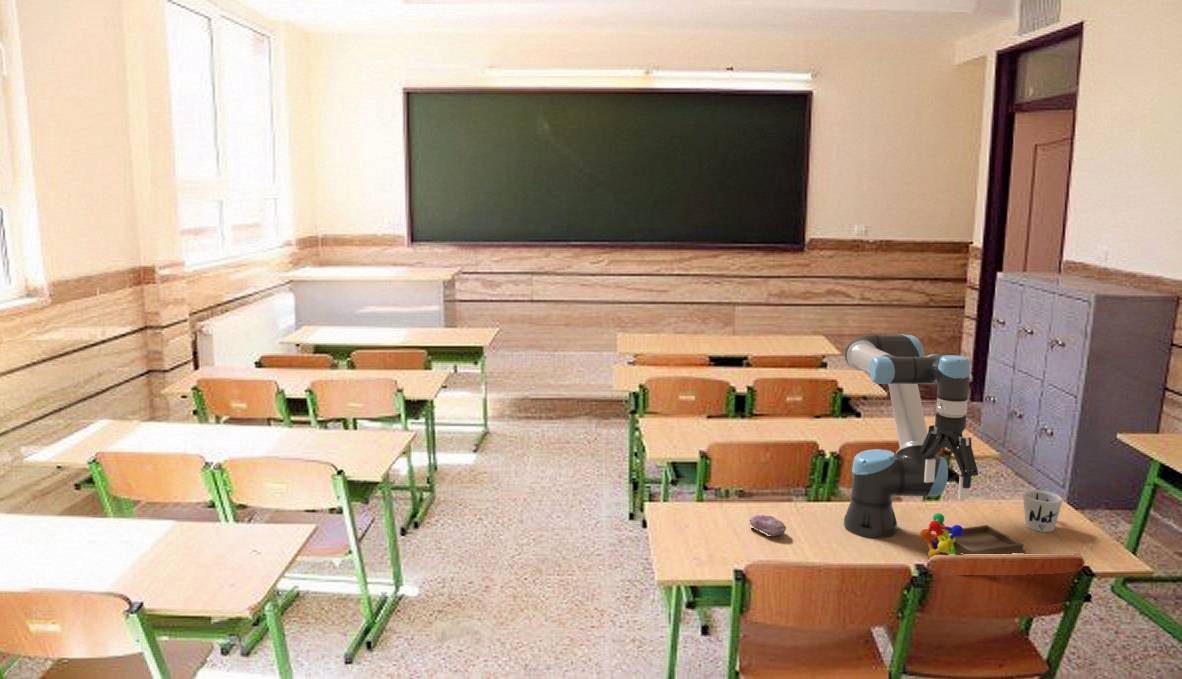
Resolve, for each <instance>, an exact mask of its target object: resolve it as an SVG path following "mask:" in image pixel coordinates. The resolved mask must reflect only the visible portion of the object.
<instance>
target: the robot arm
mask: <svg viewBox="0 0 1182 679" xmlns="http://www.w3.org/2000/svg"><path fill="white" fill-rule="evenodd" d="M924 351H925V350H924V348H923V344H922V343H921V341H920V339H919V338H918V337H916V336H915V335H911V334H903V333H902V334H866V335H865V334H863V335H860V336H858V337H856V338H853V339H852V340H851V341H849V343H848V344H847V345H846V347H845V349H844V353H843V354H844V360H845V362H846V364H847V365H848V366H849V367H850V368H852V369H854V370H855V371H856V370H857V371H863V372H864V371H865V372H867V373H868V374H869V377H870V380H871V381H872V382H873V383H874V384H878V385H879V384H881V385H888V390H889V394H890V396H889V397H890V402H891V406H892V413H893V417H894V418H893V419H894V424H895V428H896V435H897V439H898V446H899V448H898V449H897V451H895V452H893V451H891V450H888V449H881V448H879V449H877V448H875V449H866V450H863V451H860V452H859V453H857V454H856V455H855V456H854V458H853V461H852V462H853V463H852V467H851V472H852V478H851V495H850V496H851V498H850V503H849V504H848V505H849V506H848V507H847V510H846V513H845V515H844V518H843V526H845V527H844V528H845V529H846V530H847V531H849V532H850V531H851V532H850V533H852V532H853V534H855V533H856V535H858V536H863V537H866V538H867V537H868V538H876V539H877V538H880V539H881V538H887V537H891V536H894V535H895V534H896V533H897V532H898V521H897V518H896V514H895V510H894V509H893V497H896V496H897V497H925V498H928V497H937V496H940V495H942V494H943V493H944V491H945V489H946V487H947V481H948V476H949V469H948V467H949V466H948V463H947V462H948V461H947V460H946V458H945V456H944V457H943V456H941V455H939V456H938V453H939V452H940V451H941V450H942V449H943V448H946V449H948V450H949V451H950V452H951V453H952V454H953V456H954V459H955V461H956V463H957V466H958V468H959V470H960V473H961V474H959V478H958V480H959V481H958V491H957V492H958V493H957V499H958V500H959V501H961V500H968V499H969V496H970V488H971V484H972V477H977V476H978V475H979V470H978V467H977V463H976V459H975V455H974V452H973V447H972V438H971V437H970V436H969V437H964V436H963V432H964V431H965V430H966V427H967V426H966V425H967V416H966V415H967V413H968V401H969V400H968V397H969V388H970V386H969V385H970V377H971V376H970V375H971V363H970V362H971V361H970V359H969V358H968V357H966V356H961V355H954V354H949V355H947V354H946V355H941V354H936V353H934V354H929V355H927V356H925V352H924ZM919 385H936V386H937V391H936V408H935V411H936V412H937V413H935V418H934V425H929V426H928V430H927V425H926V424H927V423H926V420H925V414H924V409H923V405H922V400H921V399H922V398H921V394H920V389H919Z"/></svg>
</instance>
